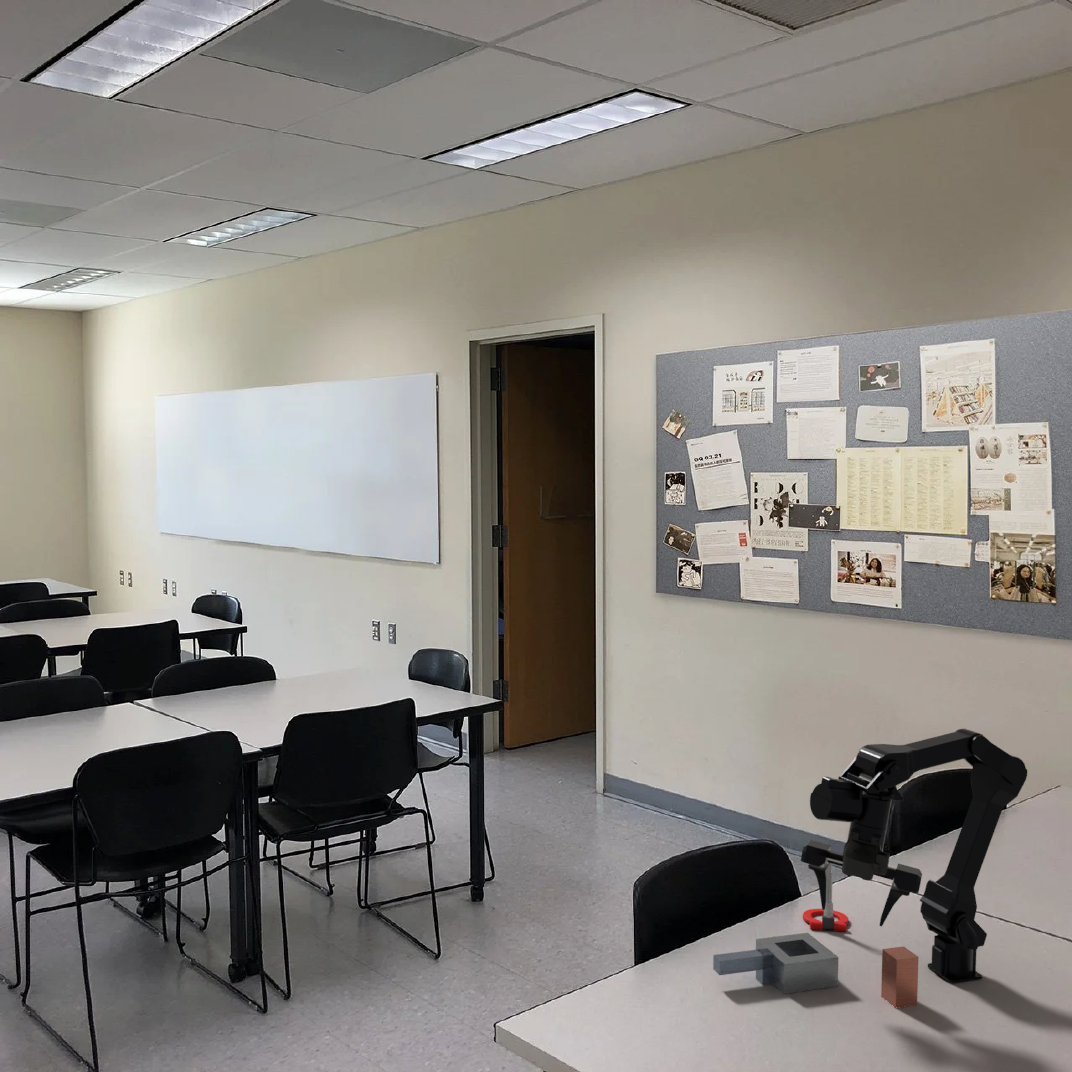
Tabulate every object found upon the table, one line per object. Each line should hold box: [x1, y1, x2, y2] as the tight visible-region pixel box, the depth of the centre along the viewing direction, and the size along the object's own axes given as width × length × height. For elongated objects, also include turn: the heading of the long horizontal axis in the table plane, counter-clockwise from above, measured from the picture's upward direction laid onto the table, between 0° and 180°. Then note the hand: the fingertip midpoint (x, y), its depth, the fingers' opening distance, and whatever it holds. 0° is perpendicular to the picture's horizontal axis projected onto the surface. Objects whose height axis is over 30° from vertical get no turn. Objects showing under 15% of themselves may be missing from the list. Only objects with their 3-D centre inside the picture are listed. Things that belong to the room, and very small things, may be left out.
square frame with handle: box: [712, 932, 839, 994], centre depth 186 cm, size 20×10×5 cm, turn 106°
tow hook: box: [802, 863, 849, 932], centre depth 210 cm, size 8×13×9 cm
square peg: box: [880, 945, 919, 1009], centre depth 179 cm, size 4×4×8 cm
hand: (851, 917), depth 181 cm, fingers open, 9 cm apart
